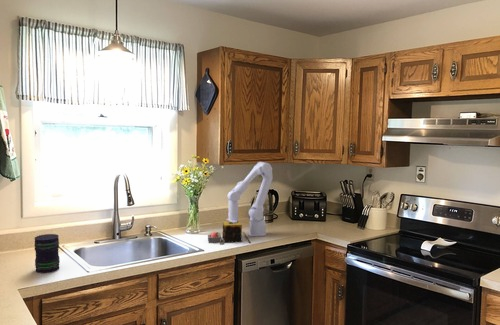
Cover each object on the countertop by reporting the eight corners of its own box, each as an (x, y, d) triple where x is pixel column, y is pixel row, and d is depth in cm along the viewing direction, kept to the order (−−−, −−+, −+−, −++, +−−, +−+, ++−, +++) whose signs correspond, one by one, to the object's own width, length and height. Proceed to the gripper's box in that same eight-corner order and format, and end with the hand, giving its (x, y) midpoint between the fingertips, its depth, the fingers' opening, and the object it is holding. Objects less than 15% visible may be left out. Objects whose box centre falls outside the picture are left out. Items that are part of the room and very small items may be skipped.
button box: (219, 239, 240) (219, 234, 239) (220, 242, 233) (220, 237, 233) (207, 239, 238) (207, 234, 238) (208, 243, 232) (208, 237, 232)
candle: (224, 242, 232) (224, 225, 232) (221, 238, 242) (221, 221, 241) (242, 242, 234) (242, 224, 234) (239, 237, 244) (239, 220, 243)
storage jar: (63, 265, 192) (62, 234, 190) (54, 273, 182) (53, 239, 181) (41, 265, 191) (40, 234, 190) (31, 273, 182) (29, 239, 180)
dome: (217, 240, 238) (217, 231, 238) (218, 241, 234) (218, 233, 234) (210, 240, 237) (210, 231, 237) (210, 242, 234) (210, 233, 233)
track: (243, 232, 256) (243, 231, 256) (251, 243, 232) (251, 242, 232) (215, 233, 253) (215, 232, 253) (219, 244, 229) (219, 243, 229)
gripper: (225, 209, 251) (224, 231, 252) (228, 214, 237) (227, 237, 238) (236, 209, 252) (236, 231, 254) (240, 214, 238) (240, 237, 239)
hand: (233, 234), depth 246 cm, fingers closed
